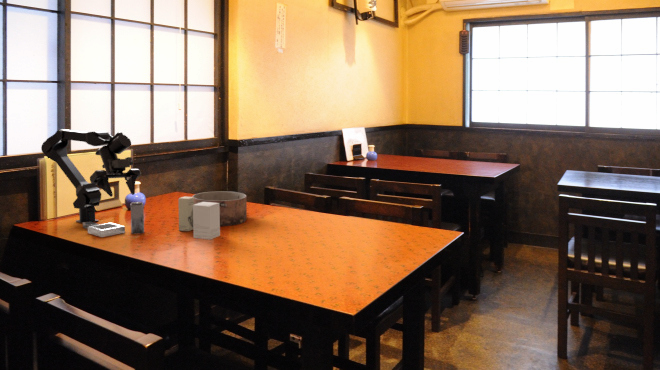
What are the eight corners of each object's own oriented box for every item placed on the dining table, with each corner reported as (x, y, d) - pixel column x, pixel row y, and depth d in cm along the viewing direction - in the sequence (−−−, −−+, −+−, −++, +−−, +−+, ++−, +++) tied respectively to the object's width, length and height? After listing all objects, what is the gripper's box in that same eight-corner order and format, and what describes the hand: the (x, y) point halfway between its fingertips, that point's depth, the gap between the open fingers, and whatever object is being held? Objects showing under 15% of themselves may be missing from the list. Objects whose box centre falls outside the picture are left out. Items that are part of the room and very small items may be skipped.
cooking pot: (207, 212, 243) (207, 189, 242) (254, 214, 241) (255, 191, 239) (180, 227, 214) (180, 200, 212) (234, 230, 211) (234, 203, 209)
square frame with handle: (73, 228, 206) (73, 222, 206) (96, 224, 214) (96, 218, 214) (101, 237, 195) (101, 230, 195) (125, 232, 203) (124, 226, 202)
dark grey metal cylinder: (128, 232, 203) (127, 202, 201) (139, 230, 206) (138, 201, 205) (136, 234, 200) (135, 204, 198) (146, 232, 204) (145, 202, 202)
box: (188, 231, 207) (188, 198, 205) (178, 230, 207) (177, 198, 205) (194, 228, 212) (194, 196, 210) (184, 227, 212) (184, 196, 210)
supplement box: (220, 235, 202) (220, 202, 200) (210, 240, 195) (209, 206, 193) (203, 233, 204) (203, 201, 202) (192, 238, 197) (192, 204, 196)
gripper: (97, 149, 197) (110, 186, 193) (141, 149, 212) (154, 184, 208) (83, 164, 203) (96, 200, 200) (128, 163, 218) (140, 197, 214)
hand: (122, 195), depth 205 cm, fingers open, 9 cm apart
